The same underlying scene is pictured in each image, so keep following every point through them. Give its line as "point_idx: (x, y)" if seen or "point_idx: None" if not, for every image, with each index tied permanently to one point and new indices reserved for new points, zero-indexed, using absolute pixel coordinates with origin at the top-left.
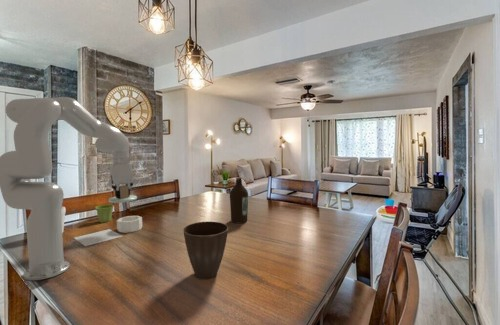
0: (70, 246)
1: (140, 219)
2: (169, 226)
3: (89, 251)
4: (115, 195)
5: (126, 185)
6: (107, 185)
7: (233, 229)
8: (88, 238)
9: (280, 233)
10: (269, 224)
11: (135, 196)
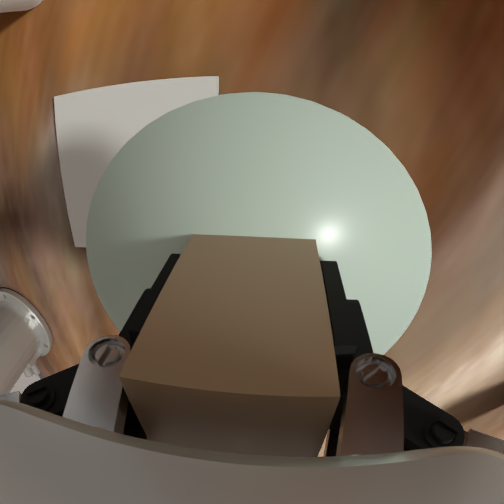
0: (41, 188)
1: None
2: (439, 284)
3: (87, 288)
4: (144, 297)
5: (351, 424)
6: None
7: (458, 420)
8: (93, 159)
9: None
10: (500, 429)
11: (389, 333)
